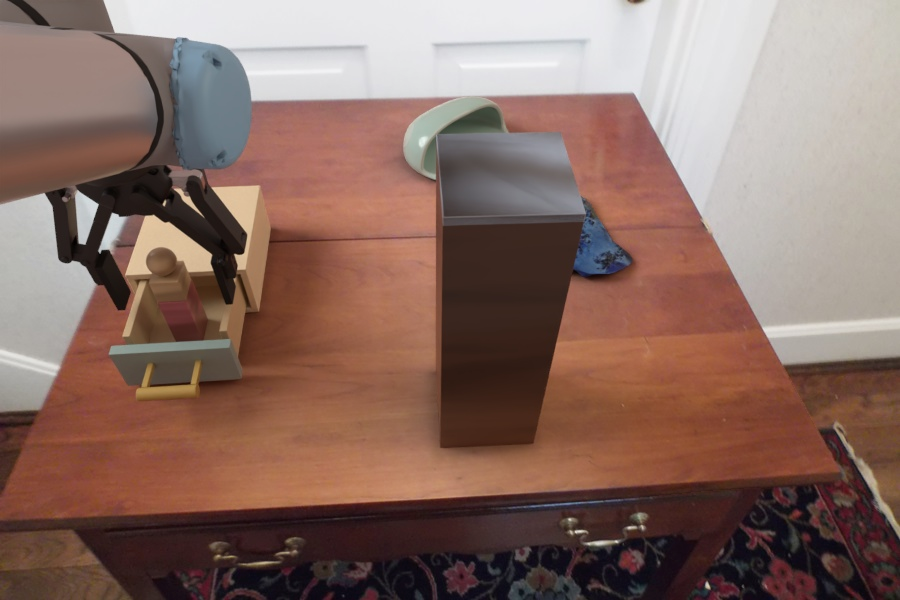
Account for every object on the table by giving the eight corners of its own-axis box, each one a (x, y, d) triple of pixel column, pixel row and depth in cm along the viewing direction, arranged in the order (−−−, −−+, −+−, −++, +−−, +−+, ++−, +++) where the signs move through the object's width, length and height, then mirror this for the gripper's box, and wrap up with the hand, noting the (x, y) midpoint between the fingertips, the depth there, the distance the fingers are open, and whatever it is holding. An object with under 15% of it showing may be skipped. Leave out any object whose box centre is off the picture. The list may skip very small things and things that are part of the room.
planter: (465, 68, 107) (540, 108, 99) (464, 108, 112) (535, 148, 104) (377, 111, 98) (452, 158, 90) (380, 151, 103) (451, 199, 95)
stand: (533, 443, 69) (586, 213, 45) (440, 448, 68) (442, 217, 44) (521, 367, 75) (560, 131, 52) (435, 370, 75) (435, 134, 51)
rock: (575, 192, 97) (577, 182, 95) (644, 266, 87) (648, 256, 85) (489, 220, 93) (490, 210, 91) (551, 302, 83) (553, 292, 81)
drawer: (236, 413, 69) (223, 382, 65) (117, 421, 69) (96, 390, 64) (256, 285, 82) (246, 252, 78) (155, 290, 81) (140, 257, 77)
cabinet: (259, 312, 80) (245, 269, 75) (146, 318, 79) (124, 275, 74) (271, 228, 91) (260, 185, 85) (171, 232, 90) (154, 189, 84)
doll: (203, 342, 74) (168, 262, 65) (176, 343, 74) (137, 263, 65) (208, 319, 77) (175, 238, 67) (182, 320, 77) (145, 240, 67)
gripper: (245, 97, 58) (287, 268, 75) (-25, 105, 56) (79, 279, 73) (234, 146, 53) (281, 318, 70) (-63, 156, 51) (58, 330, 68)
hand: (178, 298), depth 71 cm, fingers open, 11 cm apart
